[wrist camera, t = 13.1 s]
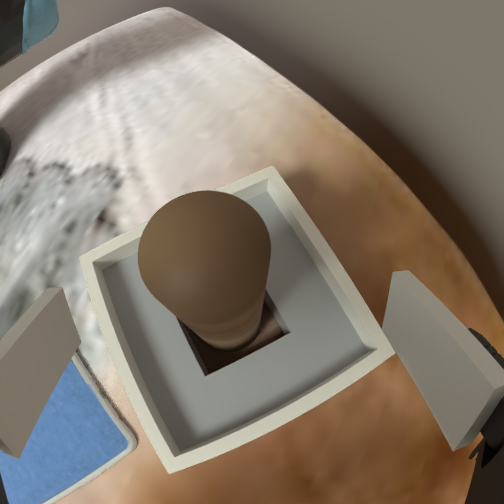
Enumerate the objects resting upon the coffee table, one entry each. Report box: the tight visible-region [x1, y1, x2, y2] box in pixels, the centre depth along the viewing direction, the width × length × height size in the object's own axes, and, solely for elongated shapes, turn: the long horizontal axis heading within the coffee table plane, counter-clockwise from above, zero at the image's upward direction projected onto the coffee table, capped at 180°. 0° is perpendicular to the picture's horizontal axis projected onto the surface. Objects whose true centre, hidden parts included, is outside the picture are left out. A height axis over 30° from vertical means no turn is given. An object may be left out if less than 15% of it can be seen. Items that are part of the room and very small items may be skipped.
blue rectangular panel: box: [0, 352, 137, 504], centre depth 16 cm, size 19×13×1 cm, turn 132°
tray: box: [79, 166, 395, 474], centre depth 18 cm, size 14×14×4 cm
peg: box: [138, 191, 271, 352], centre depth 14 cm, size 4×4×12 cm
